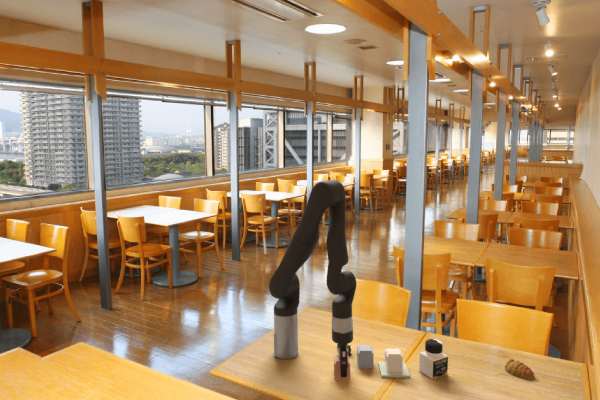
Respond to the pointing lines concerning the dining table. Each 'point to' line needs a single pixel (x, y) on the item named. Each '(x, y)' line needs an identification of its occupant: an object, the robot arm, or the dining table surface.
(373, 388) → the dining table surface
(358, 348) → the grey block
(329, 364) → the dining table surface
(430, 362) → the medicine bottle
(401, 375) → the tower base
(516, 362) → the pastry
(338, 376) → the brick terracotta
